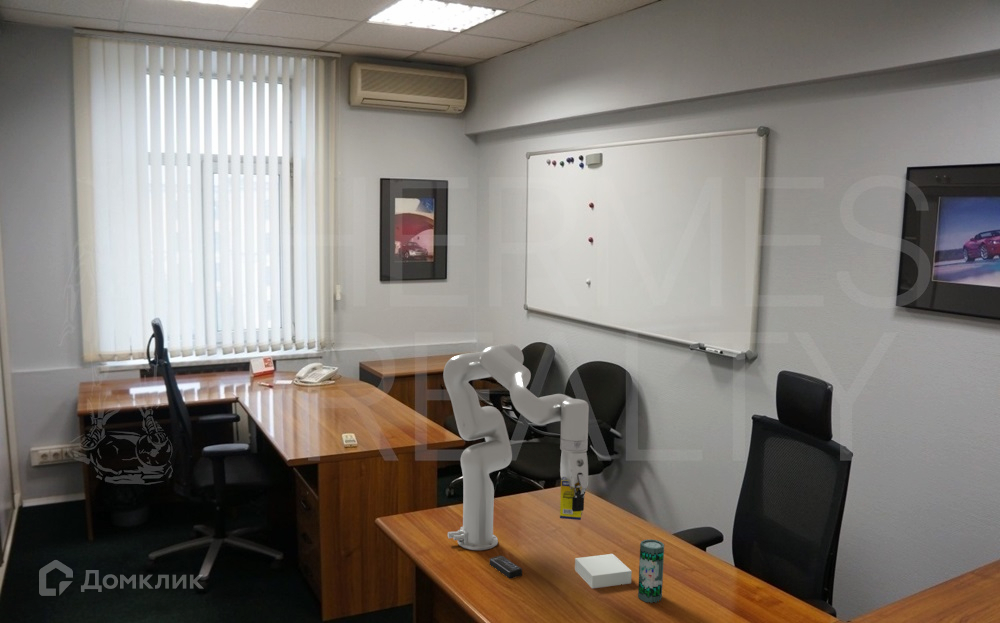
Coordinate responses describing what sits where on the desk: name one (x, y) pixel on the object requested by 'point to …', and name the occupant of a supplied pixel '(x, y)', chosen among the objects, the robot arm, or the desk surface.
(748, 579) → the desk surface
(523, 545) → the desk surface
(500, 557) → the multiport hub
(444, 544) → the desk surface
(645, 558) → the can
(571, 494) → the supplement box
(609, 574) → the white block
